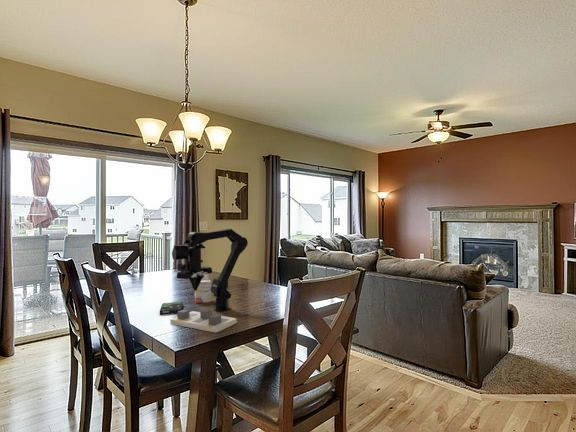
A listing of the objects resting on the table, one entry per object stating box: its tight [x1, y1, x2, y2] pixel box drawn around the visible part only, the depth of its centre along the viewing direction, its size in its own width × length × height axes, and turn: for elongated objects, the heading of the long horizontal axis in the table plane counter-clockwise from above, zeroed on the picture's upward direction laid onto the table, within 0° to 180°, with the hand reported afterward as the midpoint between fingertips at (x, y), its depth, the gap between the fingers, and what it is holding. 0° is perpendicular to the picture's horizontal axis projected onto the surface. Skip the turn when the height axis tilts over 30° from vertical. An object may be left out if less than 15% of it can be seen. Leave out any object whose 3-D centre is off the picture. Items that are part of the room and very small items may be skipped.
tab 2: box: [209, 314, 222, 325], centre depth 147 cm, size 4×4×3 cm
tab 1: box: [176, 309, 191, 319], centre depth 155 cm, size 4×4×3 cm
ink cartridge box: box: [194, 273, 212, 304], centre depth 191 cm, size 9×5×15 cm, turn 110°
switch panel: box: [169, 310, 238, 333], centre depth 154 cm, size 14×26×2 cm, turn 62°
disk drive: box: [159, 301, 184, 316], centre depth 175 cm, size 10×3×15 cm
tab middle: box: [200, 308, 213, 319], centre depth 155 cm, size 4×4×3 cm
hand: (195, 290), depth 166 cm, fingers closed
